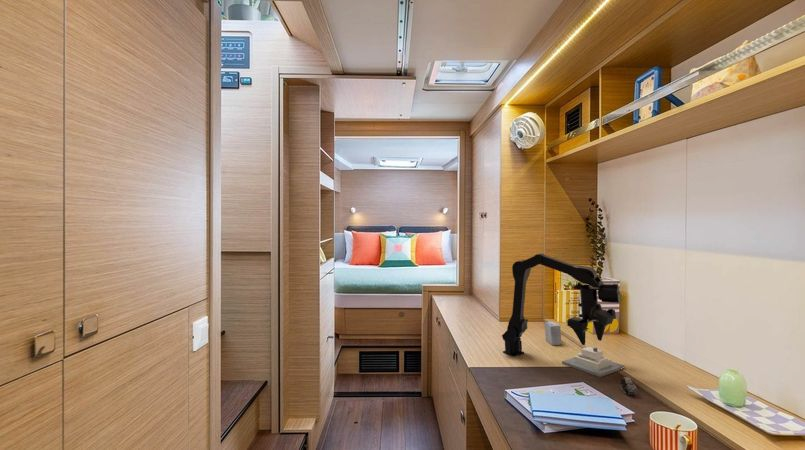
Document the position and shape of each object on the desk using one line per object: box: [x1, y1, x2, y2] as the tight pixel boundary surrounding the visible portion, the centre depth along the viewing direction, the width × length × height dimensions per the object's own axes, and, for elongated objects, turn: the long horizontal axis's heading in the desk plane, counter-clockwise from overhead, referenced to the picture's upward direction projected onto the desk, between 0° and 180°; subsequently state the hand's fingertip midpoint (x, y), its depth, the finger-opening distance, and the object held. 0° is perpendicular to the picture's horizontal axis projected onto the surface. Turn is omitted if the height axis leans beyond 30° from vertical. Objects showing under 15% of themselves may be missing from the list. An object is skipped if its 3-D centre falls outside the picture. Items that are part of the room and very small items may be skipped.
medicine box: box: [544, 321, 563, 346], centre depth 173 cm, size 8×4×9 cm, turn 179°
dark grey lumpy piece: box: [620, 376, 638, 396], centre depth 120 cm, size 3×5×5 cm
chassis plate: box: [561, 355, 626, 378], centre depth 143 cm, size 14×16×3 cm
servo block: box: [576, 346, 609, 363], centre depth 143 cm, size 4×10×6 cm, turn 27°
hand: (591, 342), depth 143 cm, fingers open, 9 cm apart
